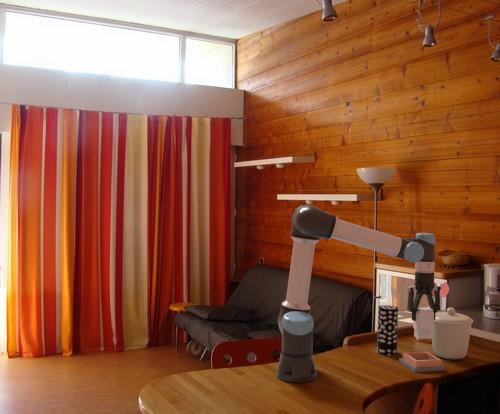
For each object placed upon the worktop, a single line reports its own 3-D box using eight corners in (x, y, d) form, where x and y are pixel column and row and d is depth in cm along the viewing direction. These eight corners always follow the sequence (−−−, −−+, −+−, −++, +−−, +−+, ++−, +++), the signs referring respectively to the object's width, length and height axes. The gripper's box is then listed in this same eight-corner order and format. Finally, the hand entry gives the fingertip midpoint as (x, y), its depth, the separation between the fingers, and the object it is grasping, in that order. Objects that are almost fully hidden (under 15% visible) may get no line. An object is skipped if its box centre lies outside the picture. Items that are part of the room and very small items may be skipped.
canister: (442, 347, 258) (443, 301, 257) (480, 357, 244) (481, 309, 243) (419, 354, 246) (420, 306, 246) (457, 365, 233) (459, 314, 232)
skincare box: (427, 336, 233) (428, 306, 233) (432, 339, 229) (433, 309, 228) (413, 336, 232) (414, 307, 232) (418, 339, 228) (419, 309, 227)
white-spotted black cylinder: (398, 355, 244) (400, 309, 243) (379, 355, 244) (380, 309, 243) (394, 350, 252) (395, 305, 252) (375, 349, 253) (376, 305, 252)
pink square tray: (414, 372, 223) (414, 362, 223) (399, 361, 236) (399, 352, 236) (444, 370, 226) (444, 360, 226) (427, 360, 239) (428, 350, 239)
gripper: (407, 273, 224) (406, 331, 225) (451, 272, 228) (449, 329, 229) (398, 270, 231) (397, 326, 232) (441, 269, 235) (439, 324, 236)
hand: (423, 328), depth 230 cm, fingers closed on skincare box, 6 cm apart
